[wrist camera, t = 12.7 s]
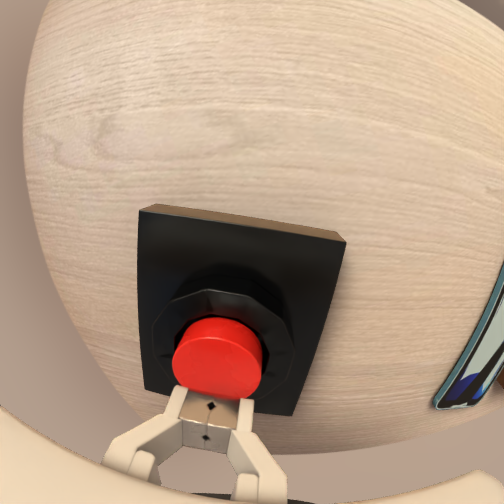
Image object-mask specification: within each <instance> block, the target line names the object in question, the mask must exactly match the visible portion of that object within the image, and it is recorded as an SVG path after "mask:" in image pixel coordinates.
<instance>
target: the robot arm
mask: <svg viewBox="0 0 504 504" xmlns="http://www.w3.org/2000/svg"><path fill="white" fill-rule="evenodd" d="M253 412H254V400H252V399H245V398H239V397H232V396H226V395H220V394H213V393H209V392H204V391H200V390H196V389H192V388H187V387H183V386H179V385H176V386H175V387H174V389H173V392H172V394H171V397H170V399H169V401H168V404H167V406H166V409H165V411H164V414H158V415H156V416H155V417H153V418H151V419H149V420H148V421H146V422H144V423H142V424H140V425H139V426H137V427H135V428H133V429H132V430H129V431H128V432H126V433H124V434H122V435H120V436H118V437H116V438H114V439H113V441H112V442H111V444H110V446H109V448H108V450H107V452H106V454H105V456H104V458H103V460H102V462H101V464H99V463H96V462H94V461H92V460H90V459H88V458H86V457H84V456H81V455H79V454H77V453H75V452H73V451H71V450H69V449H68V448H66V447H64V446H62V445H60V444H58V443H57V442H55V441H53V440H51V439H50V438H48V437H46V436H45V435H43V434H41V433H40V432H38V431H37V430H35V429H33V428H32V427H30V426H29V425H27V424H26V423H24V422H23V421H21V420H20V419H19V418H17V417H16V416H14V415H13V414H12V413H10V412H9V411H7V410H6V409H5V408H4V407H2V406H1V405H0V504H287V475H286V474H285V472H284V471H283V470H282V469H281V467H280V466H279V465H278V463H277V462H276V461H275V459H274V458H273V457H272V455H271V454H270V452H269V451H268V450H267V448H266V447H265V446H264V444H263V443H262V441H261V440H260V439H259V437H258V436H257V434H256V433H252V424H253ZM183 445H184V446H188V447H193V448H198V449H204V450H208V451H213V452H218V453H223V454H227V457H228V459H229V461H230V463H231V465H232V467H233V469H234V471H235V472H236V474H237V476H238V477H237V480H236V483H235V486H234V489H233V492H232V495H231V498H230V500H223V499H217V498H211V497H206V496H200V495H196V494H191V493H186V492H182V491H178V490H174V489H170V488H167V487H163V486H161V480H160V476H159V472H158V468H157V466H159V465H160V464H161V463H162V462H164V461H165V460H166V459H168V458H169V457H170V456H171V455H173V454H174V453H175V452H177V451H178V450H179V449H180V448H181V447H182V446H183ZM337 504H504V487H503V485H502V484H501V482H500V481H499V480H497V479H496V478H494V477H493V476H491V475H490V474H488V473H486V472H484V471H482V470H474V471H471V472H469V473H466V474H463V475H461V476H458V477H455V478H453V479H450V480H447V481H444V482H441V483H438V484H435V485H431V486H428V487H425V488H422V489H418V490H414V491H410V492H406V493H401V494H397V495H392V496H387V497H382V498H376V499H370V500H363V501H355V502H347V503H337Z"/></svg>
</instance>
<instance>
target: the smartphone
mask: <svg viewBox="0 0 504 504" xmlns="http://www.w3.org/2000/svg"><path fill="white" fill-rule="evenodd" d="M503 367H504V265H503V267H502V270H501V273H500V276H499V278H498V281H497V284H496V286H495V289H494V291H493V294H492V296H491V298H490V301H489V303H488V305H487V308H486V310H485V312H484V314H483V316H482V318H481V320H480V323H479V325H478V327H477V329H476V331H475V332H474V334H473V336H472V338H471V340H470V342H469V344H468V346H467V347H466V349H465V351H464V353H463V354H462V356H461V358H460V360H459V361H458V363H457V365H456V366H455V368H454V369H453V371H452V373H451V374H450V376H449V377H448V379H447V380H446V382H445V383H444V385H443V386H442V388H441V389H440V391H439V392H438V394H437V395H436V396H435V398H434V400H433V405H434V407H435V408H436V409H437V410H445V409H457V408H466V407H473V406H475V405H476V404H478V403H479V402H480V401H481V400H482V399H483V397H484V396H485V394H486V393H487V391H488V390H489V389H490V387H491V386H492V384H493V383H494V381H495V380H496V378H497V377H498V375H499V373H500V372H501V370H502V369H503Z"/></svg>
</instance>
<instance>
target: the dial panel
mask: <svg viewBox="0 0 504 504" xmlns="http://www.w3.org/2000/svg"><path fill="white" fill-rule="evenodd" d="M496 380H497V381H498V382H499V384H500V385H501V386H502V387H503V389H504V367H503V369H502V370H501V372H500V373H499V375H498V377H497V378H496Z"/></svg>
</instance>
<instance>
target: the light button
mask: <svg viewBox="0 0 504 504" xmlns="http://www.w3.org/2000/svg"><path fill="white" fill-rule="evenodd" d="M172 368H173V372H174V375H175V377H176V379H177V380H178V382H179V383H180V384H181V385H182V386H183V387H187V388H192V389H196V390H200V391H204V392H209V393H213V394H220V395H226V396H232V397H239V398H247V397H248V396H250V395H251V394H252V393H253V392H254V391H255V390H256V389H257V387H258V386H259V383H260V381H261V370H262V347H261V344H260V342H259V340H258V338H257V337H256V335H255V334H254V333H253V332H252V331H251V330H250V329H249V328H248V327H246V326H245V325H243V324H241V323H239V322H237V321H235V320H232V319H228V318H222V317H211V318H205V319H202V320H199V321H197V322H195V323H193V324H192V325H191V326H190V327H189V328H188V329H187V330H186V331H185V333H184V335H183V337H182V339H181V341H180V343H179V345H178V347H177V349H176V351H175V353H174V355H173V359H172Z"/></svg>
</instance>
